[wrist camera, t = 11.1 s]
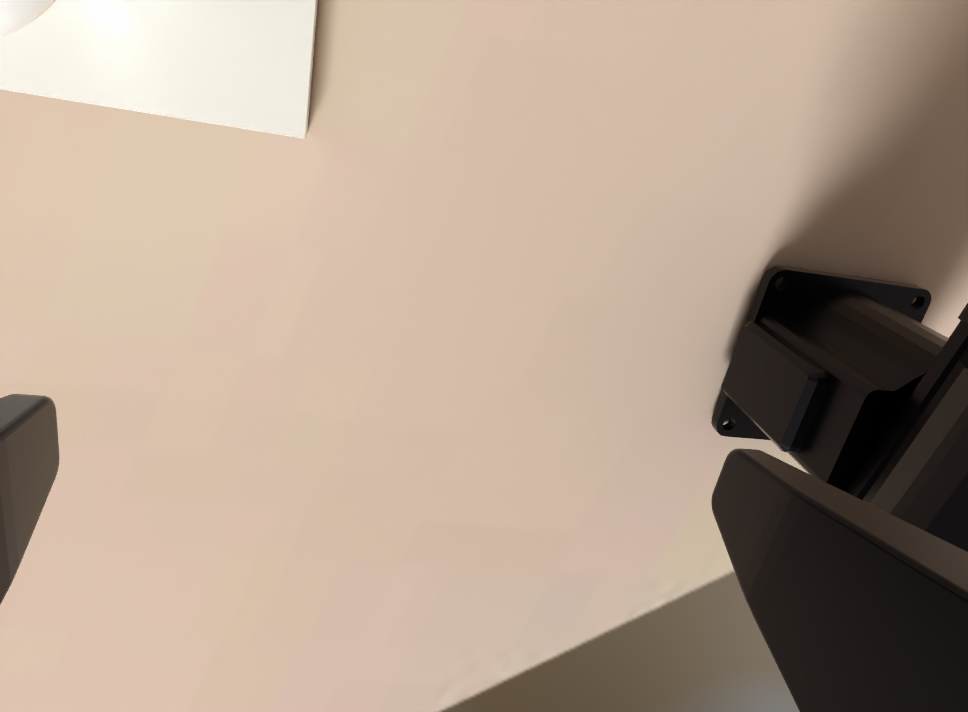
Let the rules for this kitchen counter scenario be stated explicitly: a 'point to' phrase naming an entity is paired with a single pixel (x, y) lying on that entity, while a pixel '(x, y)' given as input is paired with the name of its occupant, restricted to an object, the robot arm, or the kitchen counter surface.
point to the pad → (176, 61)
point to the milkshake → (46, 11)
